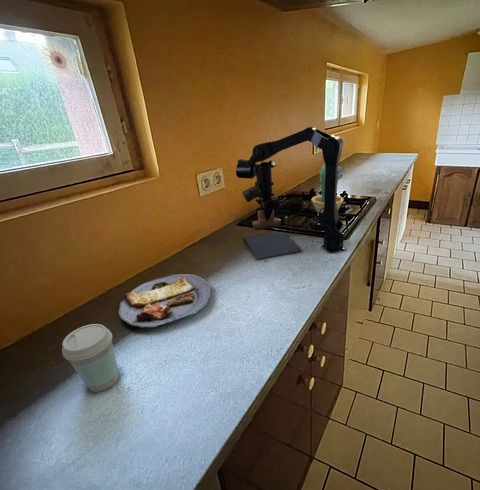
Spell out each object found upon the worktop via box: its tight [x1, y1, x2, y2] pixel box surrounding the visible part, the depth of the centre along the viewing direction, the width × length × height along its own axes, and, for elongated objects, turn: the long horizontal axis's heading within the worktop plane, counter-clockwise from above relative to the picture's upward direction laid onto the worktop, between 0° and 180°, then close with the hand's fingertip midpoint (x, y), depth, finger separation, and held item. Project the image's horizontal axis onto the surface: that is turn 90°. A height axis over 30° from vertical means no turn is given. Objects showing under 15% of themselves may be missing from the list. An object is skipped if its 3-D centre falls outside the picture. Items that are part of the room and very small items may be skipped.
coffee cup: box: [61, 323, 120, 393], centre depth 60 cm, size 8×8×12 cm
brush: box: [251, 209, 282, 231], centre depth 120 cm, size 11×4×7 cm, turn 108°
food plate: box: [117, 273, 211, 329], centre depth 86 cm, size 25×23×4 cm
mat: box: [244, 231, 302, 261], centre depth 119 cm, size 17×20×1 cm
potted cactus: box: [311, 163, 345, 217], centre depth 142 cm, size 15×15×25 cm
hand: (266, 218), depth 120 cm, fingers closed on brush, 2 cm apart
